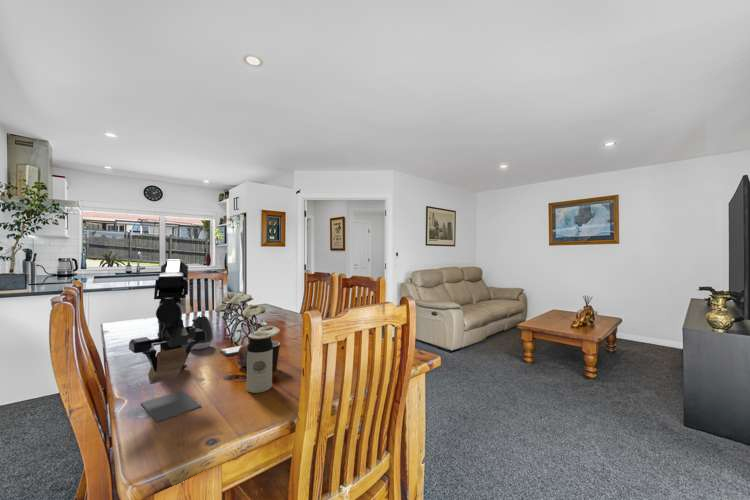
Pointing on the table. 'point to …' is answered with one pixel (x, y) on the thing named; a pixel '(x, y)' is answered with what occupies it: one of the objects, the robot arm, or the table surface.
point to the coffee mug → (275, 355)
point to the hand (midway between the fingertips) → (169, 368)
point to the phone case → (230, 351)
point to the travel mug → (259, 362)
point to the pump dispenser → (205, 325)
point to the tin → (242, 355)
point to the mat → (170, 405)
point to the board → (168, 365)
